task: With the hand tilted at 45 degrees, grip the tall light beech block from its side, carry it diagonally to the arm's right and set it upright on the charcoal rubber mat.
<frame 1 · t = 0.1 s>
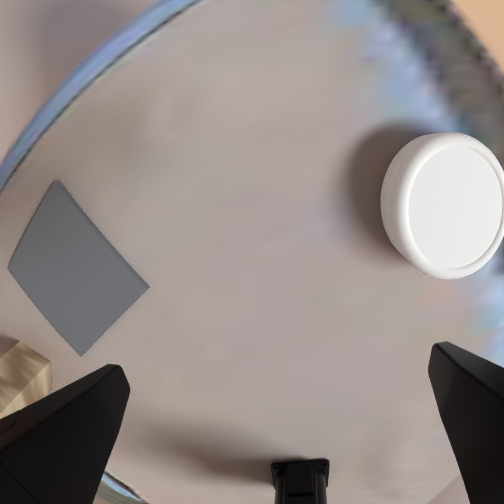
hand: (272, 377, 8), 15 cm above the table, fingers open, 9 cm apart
beech block: (35, 365, 29), on the table
white short cylinder: (437, 200, 20), on the table
charcoal mat: (67, 275, 25), on the table
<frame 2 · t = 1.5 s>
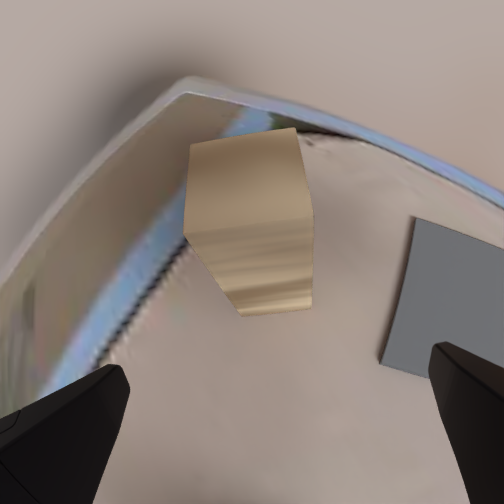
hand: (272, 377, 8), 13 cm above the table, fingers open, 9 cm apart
beech block: (273, 280, 23), on the table
charcoal mat: (467, 308, 20), on the table
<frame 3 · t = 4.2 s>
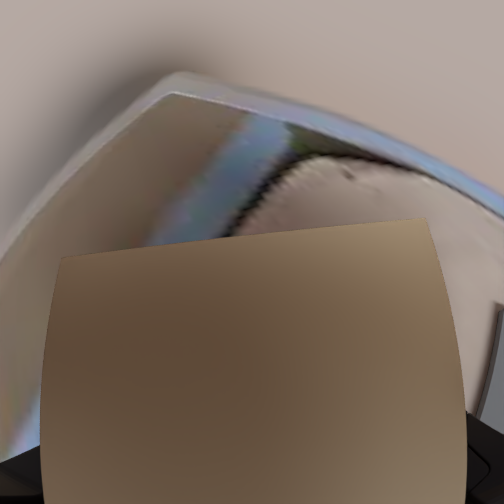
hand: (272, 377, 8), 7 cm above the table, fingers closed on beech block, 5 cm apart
beech block: (288, 418, 13), on the table, touching gripper
when the fingers open (8 cm above the table, at t = 8.0 s): beech block stays where it is, resting on charcoal mat.
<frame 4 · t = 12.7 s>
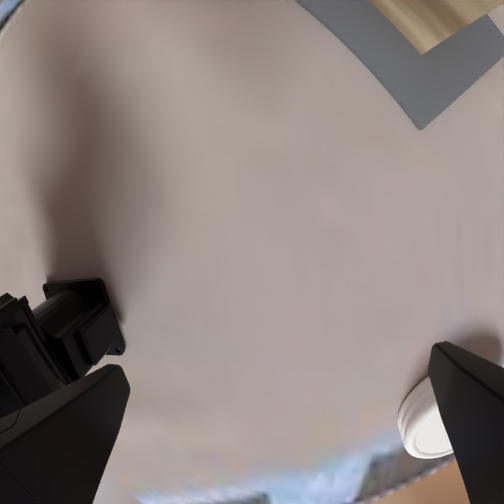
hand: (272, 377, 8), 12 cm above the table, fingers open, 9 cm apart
beech block: (416, 10, 13), point 1 cm above the table, touching charcoal mat
white short cylinder: (444, 399, 22), on the table
charcoal mat: (413, 13, 14), on the table
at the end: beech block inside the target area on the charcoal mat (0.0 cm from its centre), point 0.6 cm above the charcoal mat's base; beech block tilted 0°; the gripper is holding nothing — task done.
